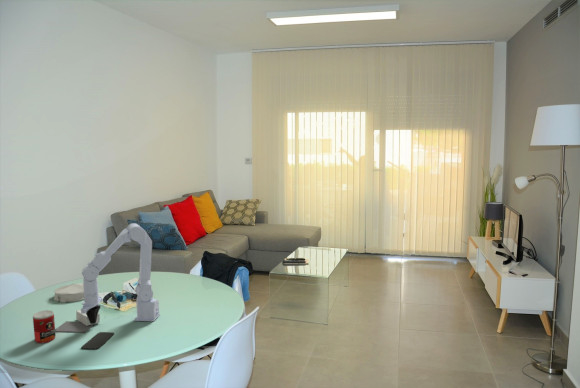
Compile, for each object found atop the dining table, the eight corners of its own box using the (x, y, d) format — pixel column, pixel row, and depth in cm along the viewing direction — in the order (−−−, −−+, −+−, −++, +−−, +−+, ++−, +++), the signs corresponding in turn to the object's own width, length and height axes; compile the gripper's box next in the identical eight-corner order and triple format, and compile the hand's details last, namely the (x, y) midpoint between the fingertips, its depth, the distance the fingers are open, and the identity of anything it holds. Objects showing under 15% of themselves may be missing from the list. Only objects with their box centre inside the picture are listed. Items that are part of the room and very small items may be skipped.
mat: (96, 322, 204) (96, 322, 203) (84, 332, 194) (84, 331, 194) (66, 322, 205) (66, 321, 205) (53, 331, 195) (53, 330, 195)
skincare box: (86, 316, 198) (75, 309, 206) (86, 326, 198) (75, 319, 207) (100, 313, 203) (89, 306, 211) (100, 323, 203) (89, 316, 211)
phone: (115, 332, 193) (97, 348, 178) (115, 334, 193) (97, 350, 178) (99, 331, 194) (79, 347, 179) (99, 333, 194) (79, 349, 179)
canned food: (41, 345, 182) (39, 319, 181) (30, 340, 187) (28, 315, 185) (59, 337, 189) (57, 312, 187) (48, 333, 193) (46, 308, 192)
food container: (44, 300, 233) (43, 287, 232) (76, 287, 251) (75, 275, 250) (73, 306, 226) (72, 293, 224) (103, 292, 244) (102, 280, 243)
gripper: (90, 287, 204) (92, 316, 206) (73, 298, 189) (75, 329, 191) (105, 287, 203) (107, 316, 205) (89, 299, 189) (91, 330, 191)
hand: (93, 322), depth 198 cm, fingers closed
